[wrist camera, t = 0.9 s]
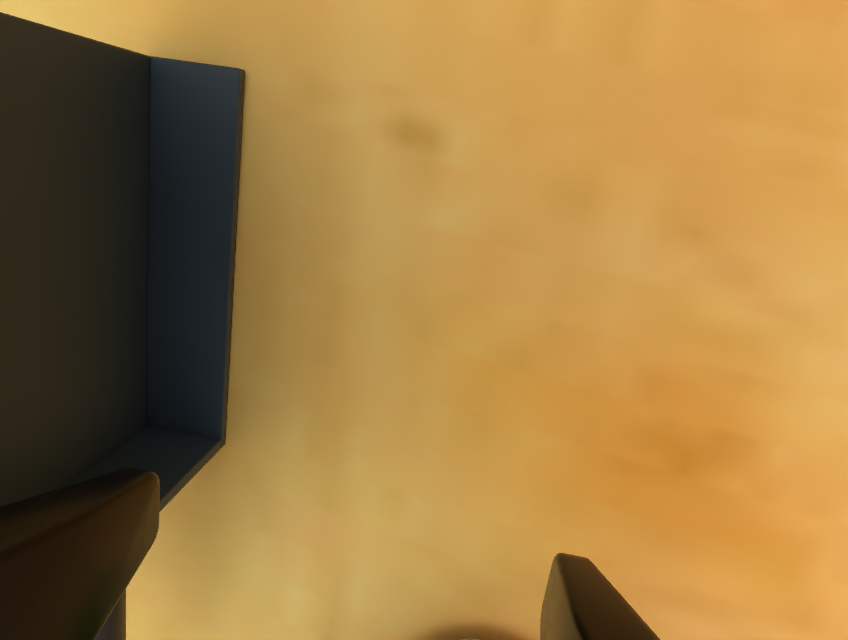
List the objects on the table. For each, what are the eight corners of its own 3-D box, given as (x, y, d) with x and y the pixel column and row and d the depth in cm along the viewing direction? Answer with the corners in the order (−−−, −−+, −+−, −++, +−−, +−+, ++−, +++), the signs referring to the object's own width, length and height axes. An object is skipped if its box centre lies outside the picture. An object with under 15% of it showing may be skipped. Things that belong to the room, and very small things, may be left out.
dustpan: (139, 578, 25) (-121, 884, 14) (145, 56, 19) (-273, -65, 9) (217, 595, 25) (9, 918, 14) (245, 70, 19) (-65, -39, 9)
